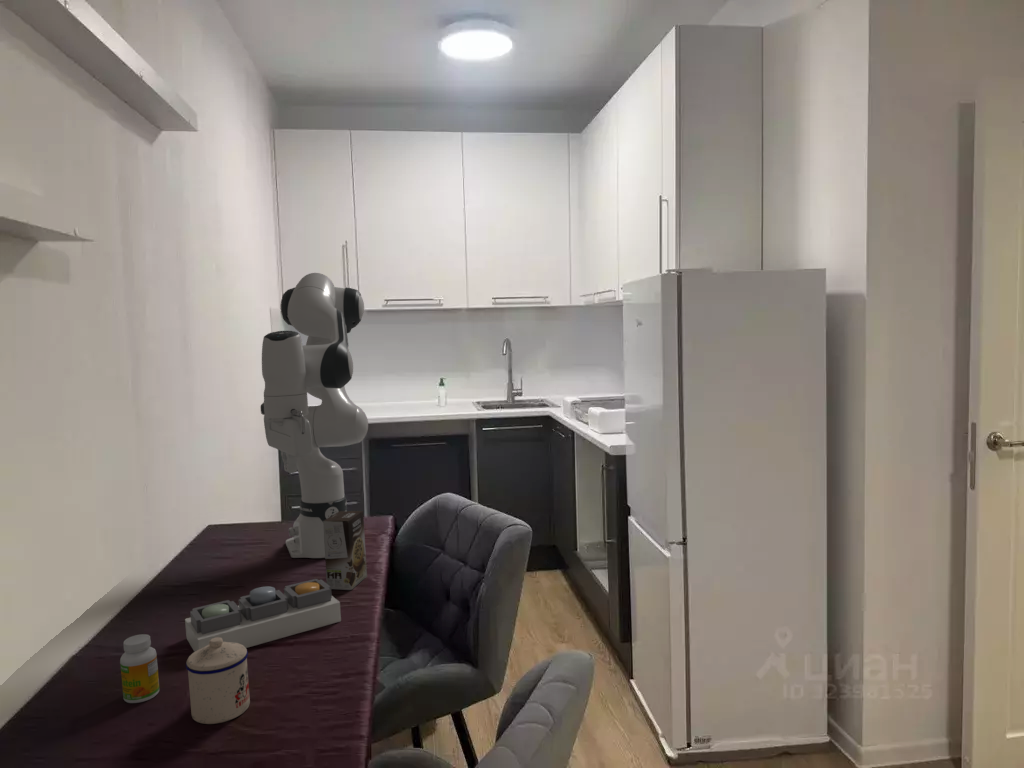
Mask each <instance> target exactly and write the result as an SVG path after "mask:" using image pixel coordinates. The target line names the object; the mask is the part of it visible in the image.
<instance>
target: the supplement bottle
mask: <svg viewBox="0 0 1024 768" xmlns="http://www.w3.org/2000/svg"><path fill="white" fill-rule="evenodd" d="M151 645H152V641H151V636H150V635H149V634H145V633H143V634H142V633H141V634H135V635H132V636H129V637H127V638H126V639H125V640H124V641H123V646H122V647H123V651H124V653H123V654H122V655H121V656H120V658H119V659H120V660H119V665H120V675H121V687H122V688H121V689H122V696H123V698H122V699H123V700H124V702H126V703H127V704H139V703H143V702H146V701H149V700H152V699H153V698H155V697H156V696H157V695H158V694H159V692H160V679H159V667H158V656H157V655H158V654H157V650H156V649H155V647H152V646H151Z"/></svg>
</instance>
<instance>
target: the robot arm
mask: <svg viewBox="0 0 1024 768" xmlns="http://www.w3.org/2000/svg"><path fill="white" fill-rule="evenodd" d="M364 302H365V301H364V299H363V297H362V294H361V293H360V291H359V290H358V289H355V288H353V287H351V288H350V287H345V288H344V287H336V286H335V285H334V283H333V281H332V280H331V278H330V277H328V276H327V275H325V274H323V273H320V272H310V273H308V274H306V275H304V276H303V277H302V278H301V279H300V280H299V281H298V283H297V284H296V286H295V287H293V288H289V289H287V290H286V291H285V292H284V293H282V297H281V301H280V307H279V309H280V313H281V316H282V319H283V321H284V322H285V323H286V324H287V325H288V326H292V327H293V328H294V329H295V330H296V331H293V330H279V331H272V332H269V333H267V334H265V335H264V336H263V340H262V344H261V345H262V346H261V348H262V349H261V374H262V378H263V381H264V389H263V390H264V391H263V402H262V403H261V405H260V406H259V407H260V414H261V415H263V424H264V425H263V426H264V433H265V437H266V442H267V445H268V446H269V447H271V448H274V449H276V450H278V451H280V454H281V460H282V462H283V467H284V468H283V470H284V471H285V472H287V473H289V474H294V473H297V472H298V479H299V483H300V485H299V486H300V493H301V499H300V503H299V516H298V517H297V518H296V519H295V520H294V522H293V526H292V527H289V528H288V535H289V537H290V538H287V539H285V546H286V547H287V548H286V549H287V550H288V553H289V555H290V557H291V558H293V559H299V558H300V559H302V558H307V559H308V558H309V559H325V544H324V525H323V521H324V520H326V519H327V518H329V517H331V516H332V515H334V514H336V513H337V512H339V511H348V510H347V509H348V500H347V496H346V495H345V484H344V481H345V480H344V471H343V469H342V467H341V465H340V464H338V463H337V462H336V461H334V460H332V459H330V458H327V457H326V456H325V455H324V454H323V453H322V452H321V450H320V448H330V447H332V448H333V447H345V446H346V447H347V446H350V445H351V446H352V445H355V444H359V443H362V441H363V440H364V439H365V437H366V436H367V435H368V434H367V433H368V430H369V420H368V417H367V415H366V413H365V412H364V410H363V409H362V408H361V407H359V406H358V405H356V403H354V402H353V401H352V400H351V398H350V397H349V395H348V394H347V391H346V385H347V384H348V383H349V382H350V381H351V380H352V378H353V374H354V362H353V357H352V355H351V352H350V347H349V337H348V334H349V333H351V331H352V330H353V328H355V327H356V328H357V326H358V325H359V324H360V323H361V322H362V318H363V315H364V312H365V303H364ZM300 334H302V335H305V336H307V340H306V343H305V345H304V344H303V342H302V341H303V340H302V338H301V335H300ZM308 395H311V396H313V397H314V398H317V399H319V400H321V404H319V405H309V401H308Z"/></svg>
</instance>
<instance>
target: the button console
mask: <svg viewBox="0 0 1024 768" xmlns="http://www.w3.org/2000/svg"><path fill="white" fill-rule="evenodd" d="M308 582H315V583H318V584H319V588H320V590H317V591H313V592H309V593H305V594H301V595H298V594H297V593H296V592H295V587H296V586H298V585H300V584H303V583H308ZM275 594H276V600H275V601H273V602H269V603H265V604H261V605H252V604H251V603H250V594H247V595H243V596H240V597H239V599H238V605H237V603H236V602H235V601H234V600H231V601H230V600H229V599H226V600H222V601H218V602H214V603H210V604H206V605H202V606H198V607H194V608H191V610H190V611H189V614H190V617H187V618H185V619H184V623H185V624H184V625H185V634H186V635H185V636H186V640H187V642H188V643H189V645H190V647H191V649H192V650H193V653H194V652H195V651H197V650H199V649H201V648H203V647H205V646H207V645H209V641H210V640H211V639H213V638H216V637H220V638H222V639H223V642H233V643H239V644H241V645H243V646H244V647H245V648H246V649H247V648H250V647H254V646H258V645H261V644H265V643H268V642H272V641H276V640H280V639H282V638H283V639H284V638H286V637H290V636H293V635H296V634H297V635H298V634H300V633H304V632H308V631H311V630H315V629H319V628H322V627H325V626H329V625H332V624H335V623H340V622H341V621H342V617H341V616H342V615H341V614H342V613H341V601H339V599H337V598H335V597H334V596H333V595H332V589H331V586H329V585H328V584H327V582H326V581H324V580H323V579H318V578H313V579H309V580H305V581H300V582H297V583H293V584H289V585H284V588H283V592H282V591H281V590H280V589H275ZM217 604H225V605H228V606H229V613H225V614H221V615H217V616H213V617H209V618H205V619H203V618H202V610H203V609H204V608H206V607H209V606H212V605H217Z"/></svg>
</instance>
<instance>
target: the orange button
mask: <svg viewBox="0 0 1024 768" xmlns="http://www.w3.org/2000/svg"><path fill="white" fill-rule="evenodd" d="M317 590H320V588H319V584H318V583H315V582H308V583H303V584H300V585H298V586H296V587H295V592H296V593H297V594H298V595H301V594H305V593H309V592H313V591H317Z"/></svg>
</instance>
